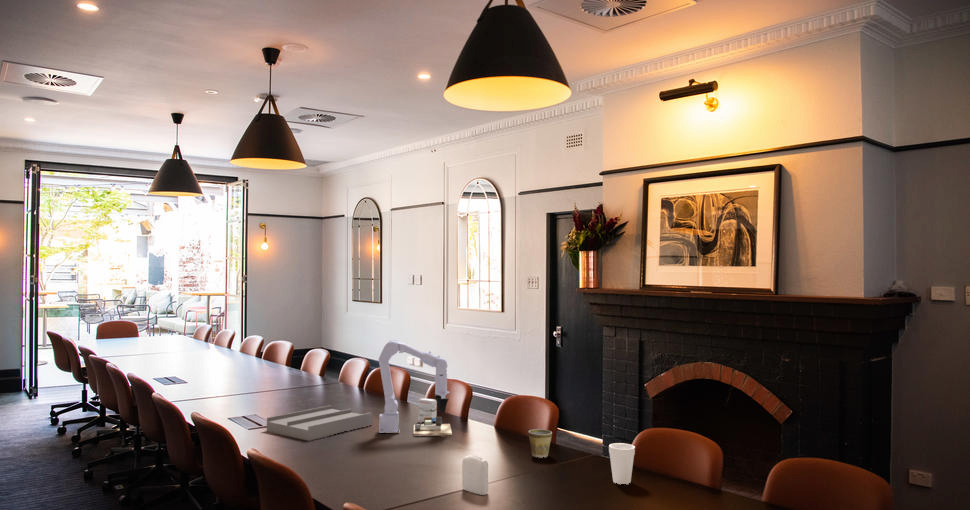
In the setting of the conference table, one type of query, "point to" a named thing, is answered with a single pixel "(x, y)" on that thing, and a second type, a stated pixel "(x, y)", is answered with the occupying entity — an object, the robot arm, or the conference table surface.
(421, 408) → the ink box
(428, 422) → the block
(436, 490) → the conference table surface
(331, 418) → the desk organizer
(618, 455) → the foam cup
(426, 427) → the lever
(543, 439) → the ceramic cup
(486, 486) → the white upright slab
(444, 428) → the base
